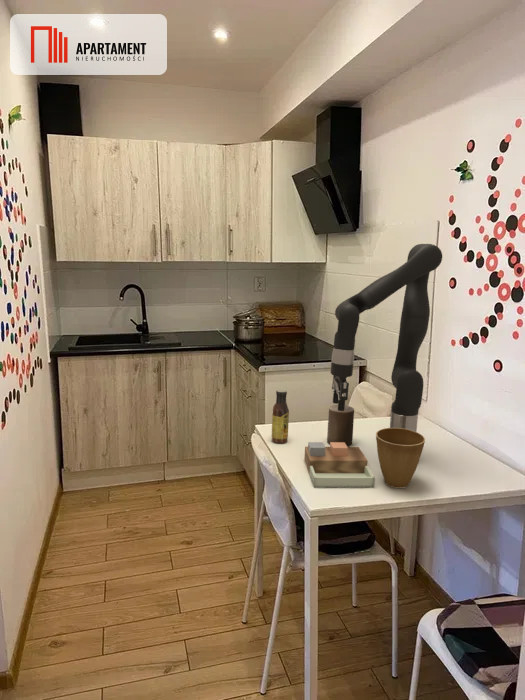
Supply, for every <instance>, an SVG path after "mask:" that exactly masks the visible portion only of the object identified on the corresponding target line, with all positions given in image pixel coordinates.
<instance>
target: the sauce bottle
mask: <svg viewBox="0 0 525 700" xmlns="http://www.w3.org/2000/svg"><path fill="white" fill-rule="evenodd" d="M275 394H276V395H275V396H276V397H275V398H276V400H275V401H276V402H275V404H274V405H273V407H272V415H271V417H272V418H271V419H272V420H271V441H272V442H273V443H275V444H285V443H287V442H288V438H289V422H290V421H289V418H290V410H289V407H288V403H287V395H288V392H287V390H286V389H276V391H275Z"/></svg>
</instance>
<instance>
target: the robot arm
mask: <svg viewBox="0 0 525 700" xmlns="http://www.w3.org/2000/svg"><path fill="white" fill-rule="evenodd" d="M442 261H443V252H442V250H441V249H440V247H438V246H437V245H435V244H432V243H420V244H419V243H418V244H415V245H413V247H411V249H410V250H409V252H408V254H407V260H406V262H405V263H404V264H402V265H401V266H399V267H398V268H396V269H394V270H393V271H391V272H389V273H387V274H385V275H383V276H381V277H379V278H377V279H375V280H374V281H373V282H371V283H370V284H368V285H367V286H366V287H365V288H363V289H362V290H361V291H359V292H358V293H356V294H354V295H352V296H350V297H349V298H347V299H345V300H343V301H342V302H341V303H339V304H338V305H337V306H336V307H335V311H334V316H335V318H336V320H337V321H338V323H337V330H336V332H335V334H334V338H333V349H332V352H331V362H330V363H331V364H330V374H331V375H332V385H331V386H332V387H331V390H332V393H333V395H332V403H333V404H334V405H338V411H344V408H345V405H346V401H348V399H349V398H348V397H349V386H350V384H349V382H348V381H347V378H350V377H352V376H353V371H354V363H355V344H356V334H357V331H358V327H359V323H360V315H361V314H362V313H364V312H366V311H368V310H372V309H374V308H375V307H376V306H378V305H379V304H381V303H383V301H385V300H386V299H388V298H389V297H390V296H392V295H393V294H395V293H396V292H398V291H399V290H400V289H402V288H404V287H405V291H404V297H403V304H402V308H401V309H402V310H401V315H400V322H399V333H398V339H397V350H396V351H397V352H396V354H395V355H396V356H395V360H394V364H393V367H392V371H391V378H390V379H391V383H392V385H393V387H394V388H395V396H394V397H395V398H394V401H393V402H392V403H391V408H390V419H389V421H390V422H389V428H403V429H409V430H412V431H415V432H418V421H419V419H418V418H419V412H420V411H419V410H420V408H421V405H422V399H423V393H424V378H423V376H422V374H421V373H420V372H419V371H418V370H417V360H418V353H419V350H420V348H421V347H422V344H423V342H424V340H425V337H426V335H427V332H428V328H429V324H430V323H429V321H430V313H431V307H430V300H429V294H428V293H429V291H428V284H429V279H430V278H429V277H430V273H431V272H433V271H435V270H436V269H438V267H439V266H440V265H441V263H442Z"/></svg>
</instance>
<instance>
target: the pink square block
mask: <svg viewBox="0 0 525 700" xmlns="http://www.w3.org/2000/svg"><path fill="white" fill-rule="evenodd" d="M329 447H330V452H331V454H332V456H347V453H348V447H349V446H346V444H345V442H330V444H329Z"/></svg>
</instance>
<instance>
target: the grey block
mask: <svg viewBox="0 0 525 700" xmlns="http://www.w3.org/2000/svg"><path fill="white" fill-rule="evenodd" d="M307 447H308V452H309V455H310V456H325V447H326V445H325V444H324V442H321V441H313V442H312V441H309V442H307Z"/></svg>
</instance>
